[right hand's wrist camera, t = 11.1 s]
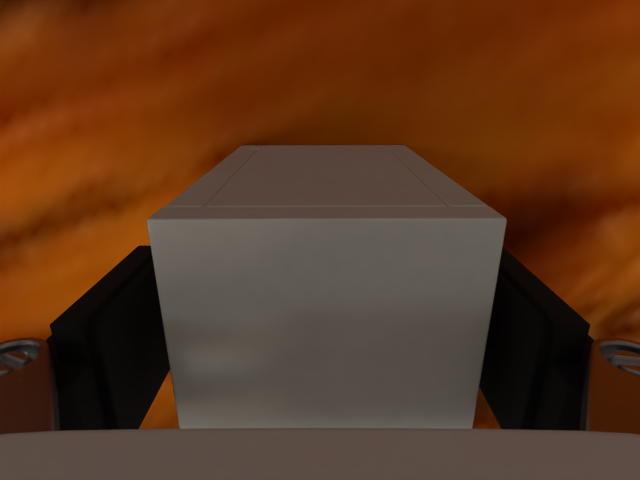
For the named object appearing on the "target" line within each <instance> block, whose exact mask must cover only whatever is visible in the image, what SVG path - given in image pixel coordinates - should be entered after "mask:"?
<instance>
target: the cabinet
mask: <svg viewBox="0 0 640 480" xmlns="http://www.w3.org/2000/svg"><path fill="white" fill-rule="evenodd" d="M506 222H507V220H506V218H505V217H503V216H502V215H501V214H499V213H498V212H496V211H495V210H494V209H492V208H491V207H489V206H488V205H486V204H485V203H484V202H482V201H481V200H479V199H478V198H477V197H475V196H474V195H473V194H471V193H470V192H468V191H467V190H466V189H464V188H463V187H461V186H460V185H459V184H457V183H456V182H455V181H453V180H452V179H450V178H449V177H448V176H446V175H445V174H444V173H442V172H441V171H439V170H438V169H437V168H435V167H434V166H433V165H431V164H430V163H428V162H427V161H426V160H424V159H423V158H422V157H420V156H419V155H417V154H416V153H415V152H413V151H412V150H411V149H409V148H408V147H406V146H405V145H242V146H240V147H239V148H238V149H237V150H235V151H234V152H233V153H232V154H230V155H229V156H228V157H227V158H225V159H224V160H223V161H222V162H220V163H219V164H218V165H216V166H215V167H214V168H213V169H211V170H210V171H209V172H208V173H206V174H205V175H204V176H203V177H201V178H200V179H199V180H198V181H196V182H195V183H194V184H193V185H191V186H190V187H189V188H187V189H186V190H185V191H184V192H182V193H181V194H180V195H179V196H177V197H176V198H175V199H174V200H172V201H171V202H170V203H169V204H167V205H166V206H165V207H163V208H161V209H160V210H159V211H157V212H156V213H155V214H153V215H152V216H151V217H150V218H148V219H147V225H148V232H149V238H150V244H151V251H152V257H153V263H154V270H155V276H156V282H157V288H158V295H159V301H160V307H161V314H162V320H163V326H164V333H165V339H166V345H167V352H168V358H169V364H170V371H171V377H172V383H173V389H174V396H175V402H176V408H177V415H178V421H179V427H180V429H204V428H436V429H472V427H473V421H474V414H475V408H476V402H477V396H478V390H479V384H480V378H481V372H482V366H483V360H484V354H485V348H486V342H487V336H488V330H489V324H490V318H491V312H492V306H493V300H494V294H495V288H496V282H497V276H498V270H499V264H500V258H501V252H502V246H503V240H504V234H505V228H506Z"/></svg>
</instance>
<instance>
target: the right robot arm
mask: <svg viewBox="0 0 640 480" xmlns="http://www.w3.org/2000/svg"><path fill="white" fill-rule="evenodd" d="M50 328H51V332H52V335H51V336H50V337H49V338H48V339H47V340H46V341H44V340H42V339H39V338H18V339H13V340H8V341H4V342H1V343H0V480H640V343H639V342H636V341H632V340H627V339H622V338H601V339H598V340H596V341H594V340H593V339H592V338H591V337H590V336H589V335H588V332H589V328H590V324H589V323H588V322H586V321H585V320H584V319H583V318H582V317H581V316H580V315H579V314H577V313H576V312H575V311H574V310H573V309H572V308H571V307H570V306H568V305H567V304H566V303H565V302H564V301H563V300H562V299H561V298H559V297H558V296H557V295H556V294H555V293H554V292H553V291H552V290H550V289H549V288H548V287H547V286H546V285H545V284H544V283H543V282H541V281H540V280H539V279H538V278H537V277H536V276H535V275H534V274H532V273H531V272H530V271H529V270H528V269H527V268H526V267H525V266H523V265H522V264H521V263H520V262H519V261H518V260H517V259H516V258H514V257H513V256H512V255H511V254H510V253H509V252H508V251H507V250H505V249H504V248H503V247H502V252H501V258H500V264H499V270H498V276H497V282H496V288H495V294H494V300H493V306H492V312H491V318H490V324H489V330H488V336H487V342H486V348H485V354H484V360H483V366H482V372H481V378H480V384H479V387H480V389H481V391H482V393H483V395H484V397H485V398H486V400H487V402H488V404H489V406H490V408H491V410H492V412H493V414H494V415H495V417H496V419H497V421H498V423H499V425H500V427H501V429H436V428H204V429H139V427H140V425H141V423H142V421H143V419H144V417H145V415H146V414H147V412H148V410H149V408H150V406H151V404H152V402H153V400H154V398H155V397H156V395H157V393H158V391H159V389H160V387H161V385H162V383H163V381H164V379H165V378H166V376H167V374H168V372H169V370H170V364H169V358H168V352H167V345H166V339H165V333H164V326H163V320H162V314H161V307H160V301H159V295H158V288H157V282H156V276H155V270H154V263H153V257H152V251H151V246H138V247H137V248H136V249H135V250H133V251H132V252H131V253H130V254H129V255H128V256H127V257H126V258H124V259H123V260H122V261H121V262H120V263H119V264H118V265H117V266H115V267H114V268H113V269H112V270H111V271H110V272H109V273H108V274H106V275H105V276H104V277H103V278H102V279H101V280H100V281H99V282H97V283H96V284H95V285H94V286H93V287H92V288H91V289H90V290H88V291H87V292H86V293H85V294H84V295H83V296H82V297H81V298H79V299H78V300H77V301H76V302H75V303H74V304H73V305H72V306H70V307H69V308H68V309H67V310H66V311H65V312H64V313H63V314H61V315H60V316H59V317H58V318H57V319H56V320H55V321H54V322H52V323H51V324H50Z"/></svg>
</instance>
